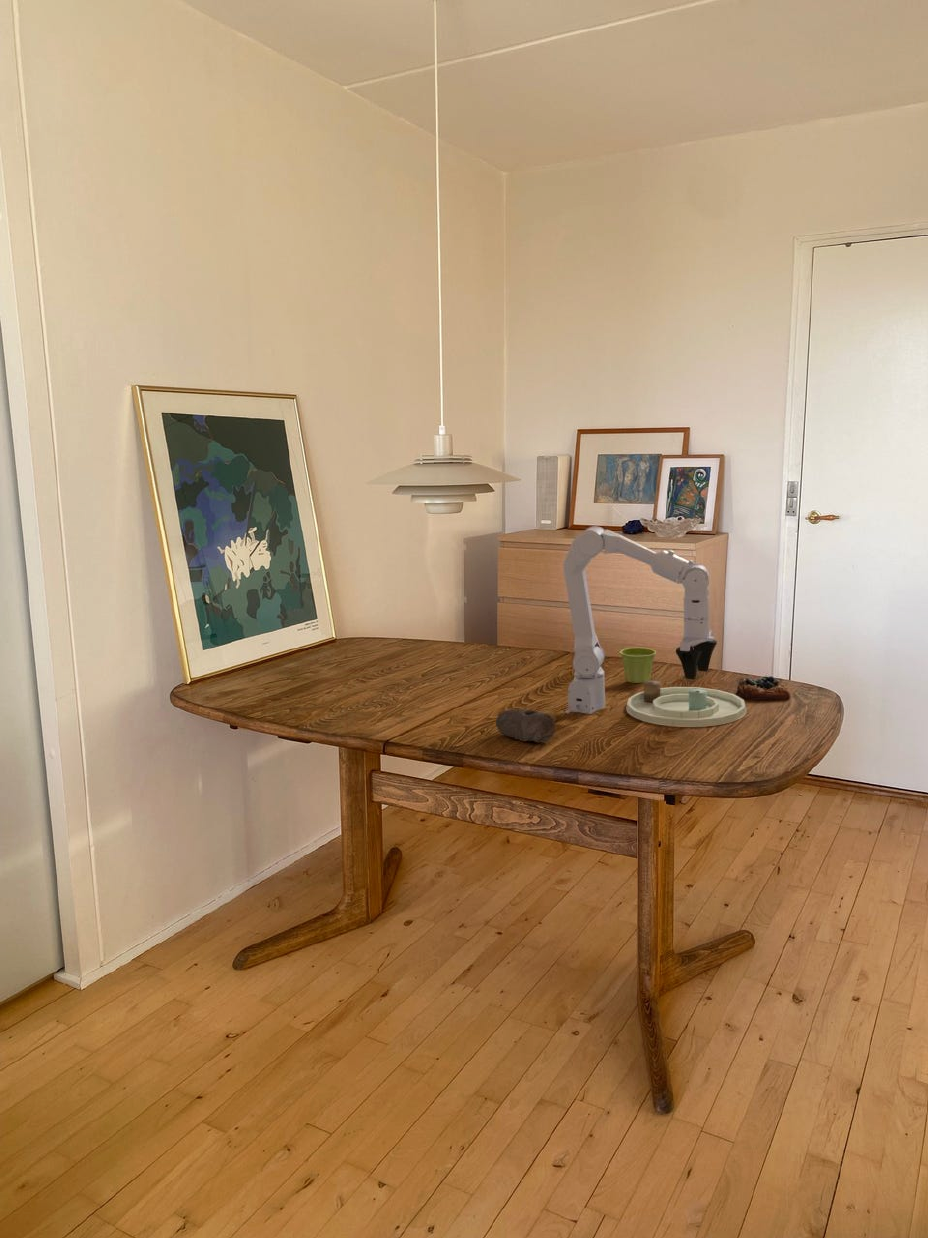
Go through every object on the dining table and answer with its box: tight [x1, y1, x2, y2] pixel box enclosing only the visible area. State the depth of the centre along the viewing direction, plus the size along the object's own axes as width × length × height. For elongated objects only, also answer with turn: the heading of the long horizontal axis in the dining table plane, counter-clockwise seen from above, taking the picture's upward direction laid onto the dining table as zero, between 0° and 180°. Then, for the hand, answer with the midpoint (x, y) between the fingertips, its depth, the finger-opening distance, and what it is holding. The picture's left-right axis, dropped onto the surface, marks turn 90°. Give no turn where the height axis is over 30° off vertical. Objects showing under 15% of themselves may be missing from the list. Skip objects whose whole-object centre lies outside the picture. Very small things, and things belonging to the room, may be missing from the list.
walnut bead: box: [643, 680, 661, 703], centre depth 228 cm, size 4×4×5 cm
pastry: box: [736, 675, 791, 702], centre depth 229 cm, size 11×12×6 cm
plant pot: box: [619, 647, 657, 684], centre depth 247 cm, size 9×9×9 cm
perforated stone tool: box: [495, 709, 555, 744], centre depth 207 cm, size 15×5×7 cm, turn 47°
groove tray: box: [625, 686, 747, 728], centre depth 221 cm, size 28×28×2 cm
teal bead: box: [689, 689, 707, 711], centre depth 219 cm, size 4×4×5 cm
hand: (696, 674), depth 218 cm, fingers open, 7 cm apart
